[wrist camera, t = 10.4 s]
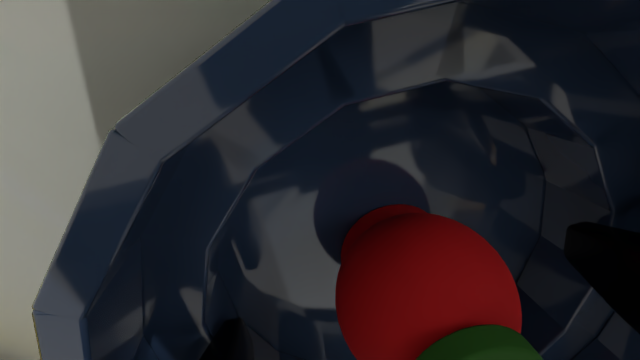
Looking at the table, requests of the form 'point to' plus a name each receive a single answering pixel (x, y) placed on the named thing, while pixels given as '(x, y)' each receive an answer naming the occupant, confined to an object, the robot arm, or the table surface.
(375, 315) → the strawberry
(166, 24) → the table surface
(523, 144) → the bowl
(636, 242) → the robot arm
